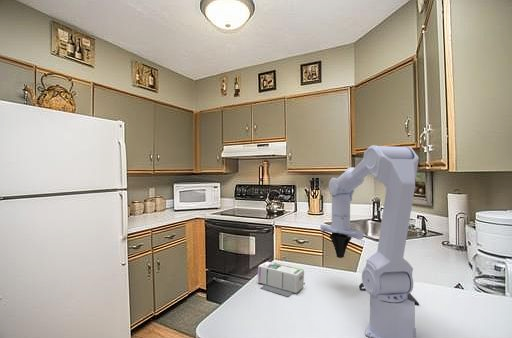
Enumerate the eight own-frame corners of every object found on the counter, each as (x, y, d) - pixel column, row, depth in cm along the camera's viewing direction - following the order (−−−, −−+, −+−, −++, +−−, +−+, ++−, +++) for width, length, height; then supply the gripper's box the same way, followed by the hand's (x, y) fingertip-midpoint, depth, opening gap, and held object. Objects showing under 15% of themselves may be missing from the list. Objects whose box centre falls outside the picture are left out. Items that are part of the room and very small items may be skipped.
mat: (304, 283, 88) (304, 282, 88) (288, 297, 78) (288, 296, 78) (278, 276, 94) (278, 275, 94) (260, 288, 84) (260, 287, 84)
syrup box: (297, 274, 80) (257, 264, 88) (296, 294, 80) (256, 282, 88) (304, 269, 85) (266, 260, 93) (303, 288, 84) (265, 277, 92)
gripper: (315, 213, 88) (314, 253, 87) (354, 219, 76) (354, 266, 76) (327, 211, 92) (327, 250, 92) (366, 217, 81) (366, 261, 80)
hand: (340, 257), depth 84 cm, fingers closed
